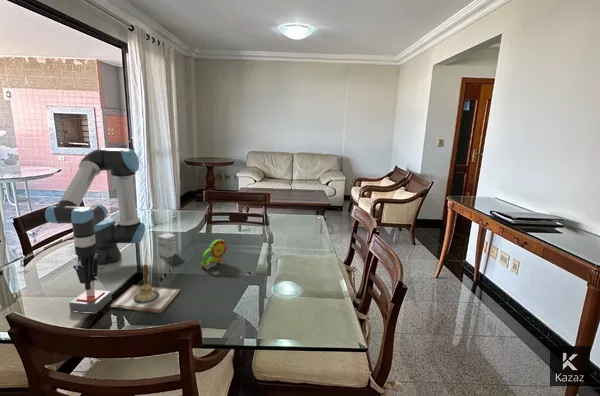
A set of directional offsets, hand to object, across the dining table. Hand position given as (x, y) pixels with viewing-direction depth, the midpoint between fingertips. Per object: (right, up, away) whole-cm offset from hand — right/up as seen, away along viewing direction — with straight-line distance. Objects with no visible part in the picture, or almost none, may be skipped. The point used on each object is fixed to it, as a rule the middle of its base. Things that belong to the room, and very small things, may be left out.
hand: (90, 294), depth 141 cm
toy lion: (+42, +3, +47) cm, 63 cm away
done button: (0, -3, +1) cm, 3 cm away
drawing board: (+20, -5, +9) cm, 23 cm away
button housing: (0, -5, +1) cm, 5 cm away
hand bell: (+20, -4, +9) cm, 22 cm away
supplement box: (+10, +7, +56) cm, 58 cm away
